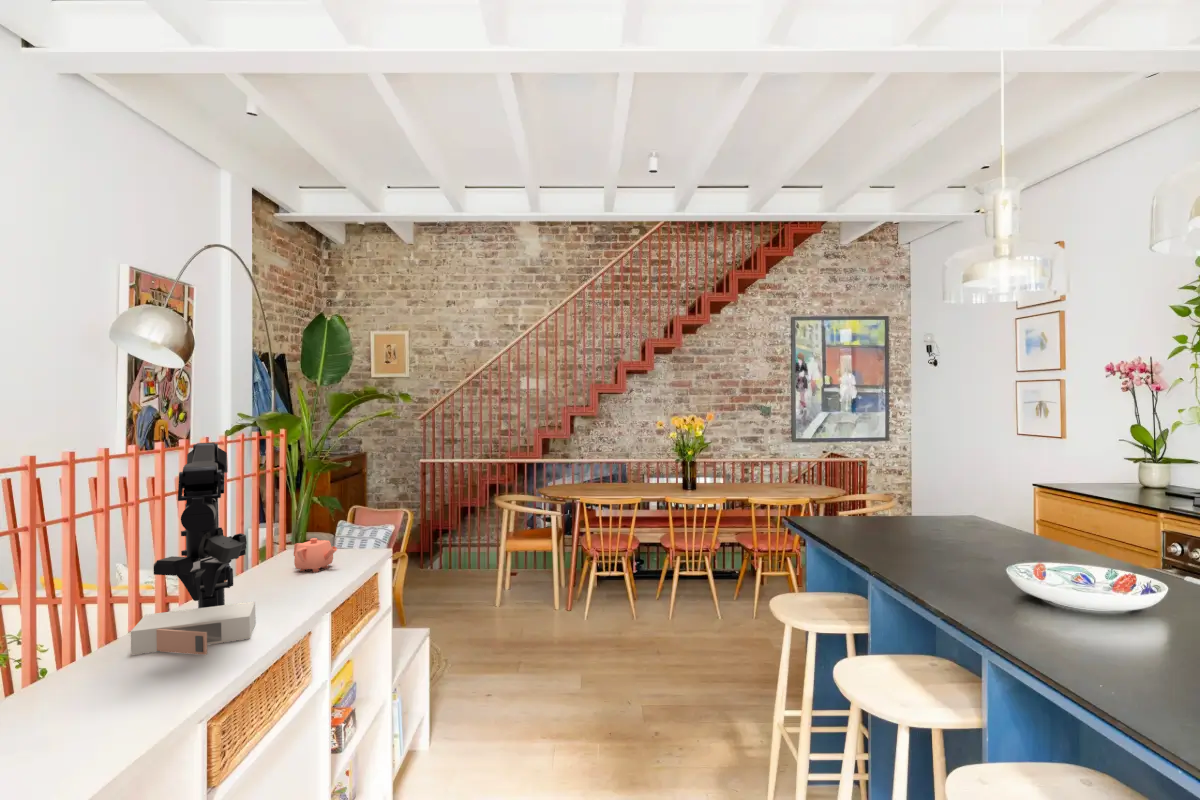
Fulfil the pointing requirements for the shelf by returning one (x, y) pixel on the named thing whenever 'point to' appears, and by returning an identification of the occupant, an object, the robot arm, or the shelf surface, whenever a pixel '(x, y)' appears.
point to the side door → (182, 641)
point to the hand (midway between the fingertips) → (203, 598)
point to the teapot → (313, 554)
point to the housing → (196, 625)
